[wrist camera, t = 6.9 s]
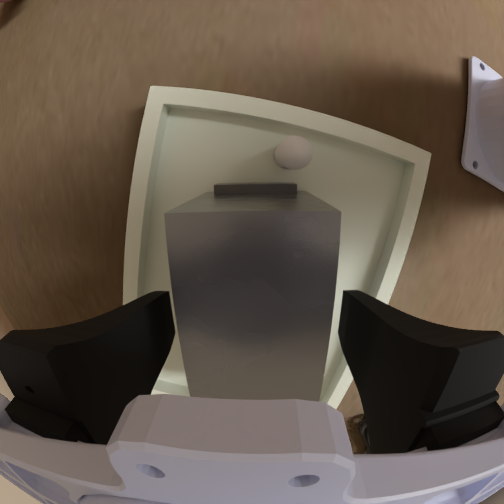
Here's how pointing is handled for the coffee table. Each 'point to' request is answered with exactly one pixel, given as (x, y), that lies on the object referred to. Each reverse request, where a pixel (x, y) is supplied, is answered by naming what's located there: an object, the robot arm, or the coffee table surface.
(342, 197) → the pin tray
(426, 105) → the coffee table surface
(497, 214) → the coffee table surface
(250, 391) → the block
